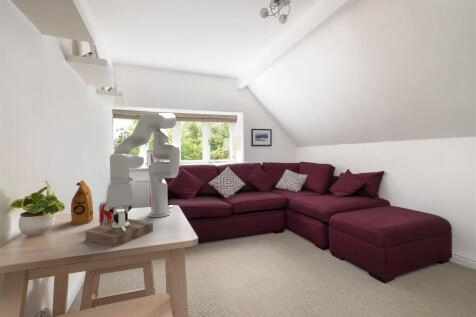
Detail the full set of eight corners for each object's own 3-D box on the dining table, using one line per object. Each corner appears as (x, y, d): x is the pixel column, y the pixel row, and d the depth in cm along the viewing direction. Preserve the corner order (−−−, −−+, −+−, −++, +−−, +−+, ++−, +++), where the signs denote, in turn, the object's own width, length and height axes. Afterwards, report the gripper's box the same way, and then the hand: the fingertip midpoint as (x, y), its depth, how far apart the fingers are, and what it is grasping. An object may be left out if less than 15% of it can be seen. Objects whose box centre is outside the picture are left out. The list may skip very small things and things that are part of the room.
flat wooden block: (126, 226, 115) (126, 217, 115) (153, 231, 108) (152, 222, 108) (85, 240, 97) (85, 230, 97) (114, 247, 90) (114, 236, 90)
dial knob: (111, 225, 103) (110, 212, 103) (127, 222, 107) (127, 209, 107) (115, 233, 93) (115, 218, 93) (133, 230, 97) (133, 215, 97)
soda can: (108, 228, 113) (107, 204, 112) (96, 227, 114) (95, 203, 114) (118, 223, 120) (117, 200, 119) (106, 223, 121) (106, 200, 121)
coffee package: (67, 226, 116) (66, 183, 116) (74, 219, 128) (73, 180, 127) (90, 223, 120) (89, 182, 119) (95, 217, 132) (94, 179, 131)
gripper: (137, 179, 110) (138, 217, 110) (98, 181, 100) (99, 223, 101) (141, 180, 104) (142, 220, 104) (99, 183, 94) (100, 227, 95)
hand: (120, 221), depth 102 cm, fingers open, 2 cm apart
